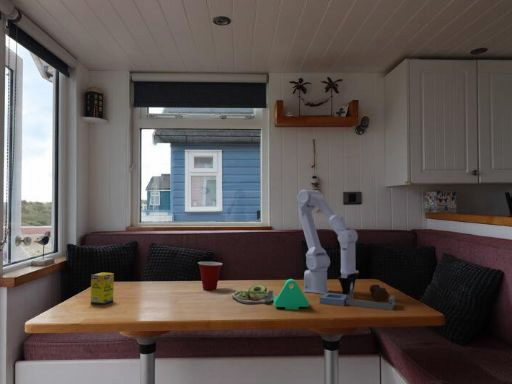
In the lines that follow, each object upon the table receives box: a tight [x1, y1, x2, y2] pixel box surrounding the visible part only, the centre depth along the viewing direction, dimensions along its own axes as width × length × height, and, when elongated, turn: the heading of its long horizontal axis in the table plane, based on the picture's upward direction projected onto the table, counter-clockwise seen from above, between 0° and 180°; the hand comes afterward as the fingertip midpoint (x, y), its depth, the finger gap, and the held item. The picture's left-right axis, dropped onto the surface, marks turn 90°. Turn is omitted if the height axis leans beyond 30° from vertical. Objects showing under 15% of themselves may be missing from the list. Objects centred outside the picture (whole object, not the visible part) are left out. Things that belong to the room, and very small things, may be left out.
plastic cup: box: [197, 261, 223, 292], centre depth 171 cm, size 11×11×12 cm
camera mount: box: [273, 278, 310, 310], centre depth 142 cm, size 12×8×10 cm, turn 92°
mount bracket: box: [345, 290, 396, 311], centre depth 144 cm, size 16×8×4 cm, turn 64°
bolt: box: [369, 284, 390, 302], centre depth 157 cm, size 6×5×15 cm
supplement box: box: [90, 272, 115, 306], centre depth 147 cm, size 6×6×11 cm
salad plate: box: [231, 284, 278, 305], centre depth 153 cm, size 19×18×5 cm
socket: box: [319, 292, 346, 307], centre depth 148 cm, size 9×9×2 cm
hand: (348, 293), depth 156 cm, fingers open, 7 cm apart
